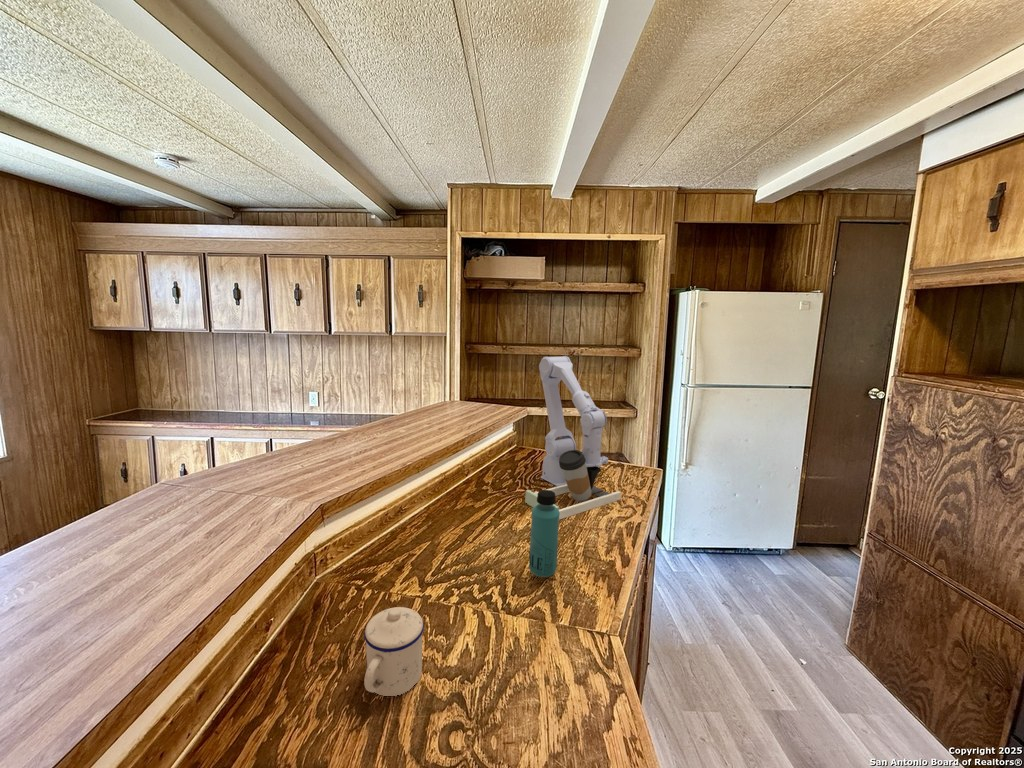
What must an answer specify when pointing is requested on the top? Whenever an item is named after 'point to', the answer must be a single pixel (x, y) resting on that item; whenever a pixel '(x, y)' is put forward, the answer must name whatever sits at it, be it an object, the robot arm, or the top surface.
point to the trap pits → (597, 490)
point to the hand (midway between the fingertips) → (589, 488)
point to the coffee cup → (576, 474)
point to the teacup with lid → (393, 651)
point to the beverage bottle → (544, 535)
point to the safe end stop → (533, 499)
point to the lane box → (584, 505)
